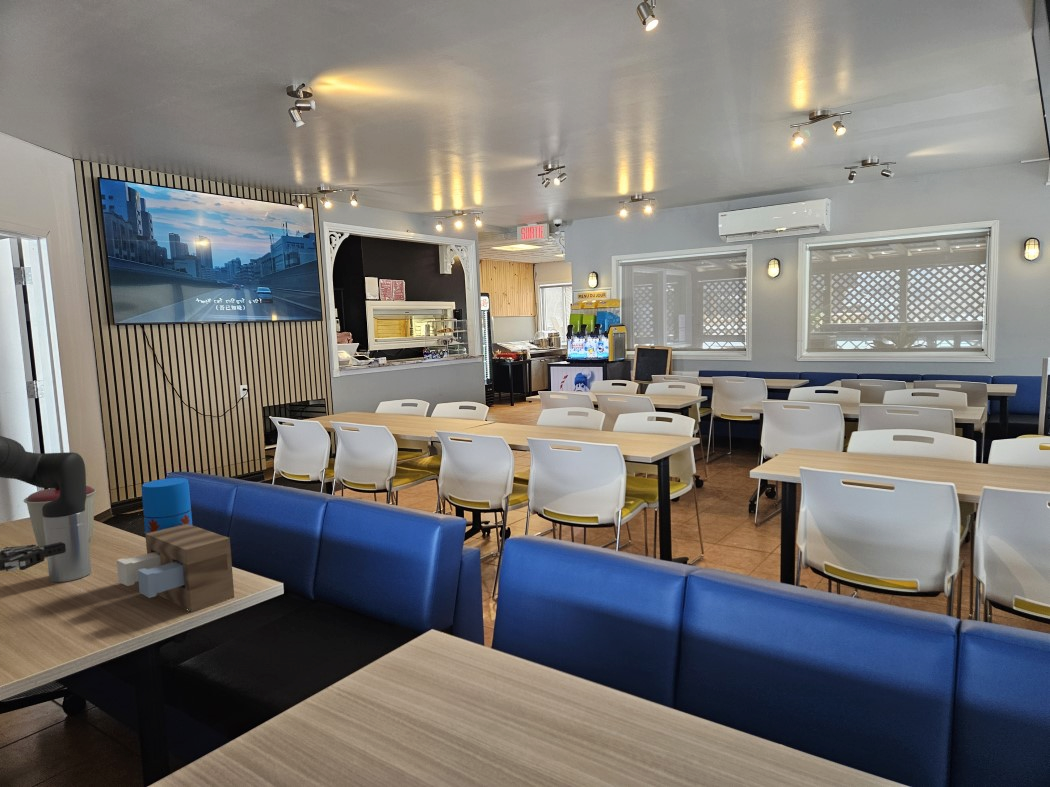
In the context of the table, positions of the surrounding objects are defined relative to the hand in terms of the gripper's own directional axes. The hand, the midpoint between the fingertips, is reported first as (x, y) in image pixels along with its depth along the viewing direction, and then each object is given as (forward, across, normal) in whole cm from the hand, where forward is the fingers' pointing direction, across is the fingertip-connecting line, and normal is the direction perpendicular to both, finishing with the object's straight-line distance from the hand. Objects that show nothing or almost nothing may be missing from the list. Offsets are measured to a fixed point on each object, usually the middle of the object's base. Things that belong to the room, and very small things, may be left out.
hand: (64, 547), depth 142 cm
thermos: (+26, +11, +17) cm, 33 cm away
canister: (+18, +66, +16) cm, 71 cm away
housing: (+23, -6, +17) cm, 29 cm away
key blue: (+17, -12, +12) cm, 24 cm away
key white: (+17, 0, +12) cm, 20 cm away
